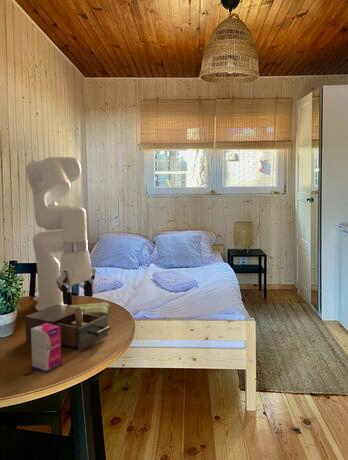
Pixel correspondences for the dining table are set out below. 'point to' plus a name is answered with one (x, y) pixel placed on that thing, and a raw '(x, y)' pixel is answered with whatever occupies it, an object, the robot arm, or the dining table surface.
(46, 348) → the supplement box
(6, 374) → the dining table surface
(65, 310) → the cabinet
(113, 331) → the dining table surface
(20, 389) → the dining table surface
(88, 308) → the washcloth
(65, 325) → the drawer
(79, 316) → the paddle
